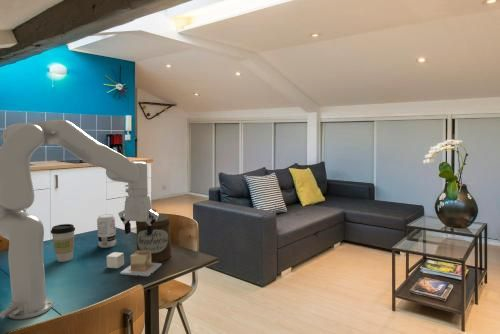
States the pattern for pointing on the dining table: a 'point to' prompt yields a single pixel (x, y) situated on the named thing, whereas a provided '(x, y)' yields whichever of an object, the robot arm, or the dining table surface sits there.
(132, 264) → the oak block
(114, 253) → the cream block
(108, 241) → the supplement can
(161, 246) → the wooden container
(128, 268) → the white orange square board
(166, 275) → the dining table surface
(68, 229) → the coffee cup
